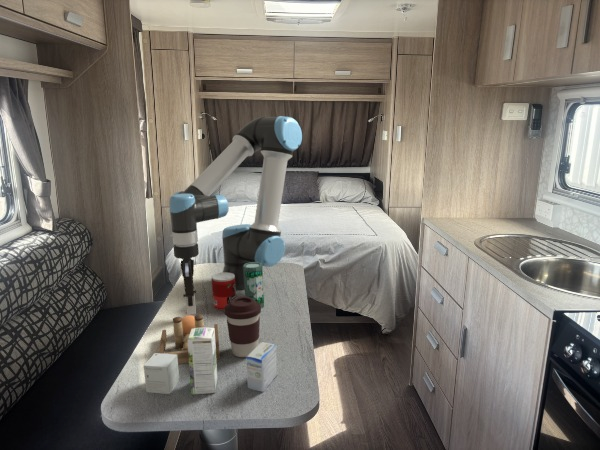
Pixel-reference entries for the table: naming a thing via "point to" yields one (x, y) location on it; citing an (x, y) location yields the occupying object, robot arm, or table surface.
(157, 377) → the product box
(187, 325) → the ball
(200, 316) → the rear pin
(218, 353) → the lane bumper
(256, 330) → the coffee cup
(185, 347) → the front pin
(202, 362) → the syrup box
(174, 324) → the rear pin
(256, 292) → the can
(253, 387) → the medicine box
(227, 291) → the canned food
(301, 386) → the table surface
